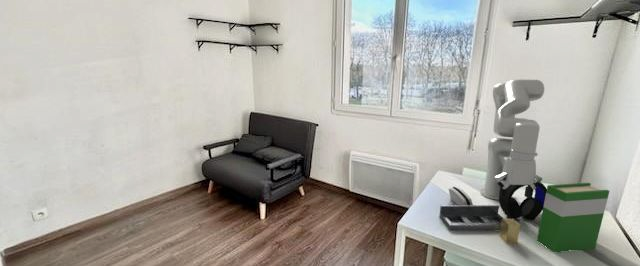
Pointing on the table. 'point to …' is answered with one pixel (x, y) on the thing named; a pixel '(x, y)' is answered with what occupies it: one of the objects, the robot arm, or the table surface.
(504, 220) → the brass peg
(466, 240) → the table surface
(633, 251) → the table surface
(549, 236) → the hardback book
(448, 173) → the table surface
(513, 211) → the headphones
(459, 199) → the white game console
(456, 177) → the table surface
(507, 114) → the robot arm
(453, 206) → the grey slotted rack
